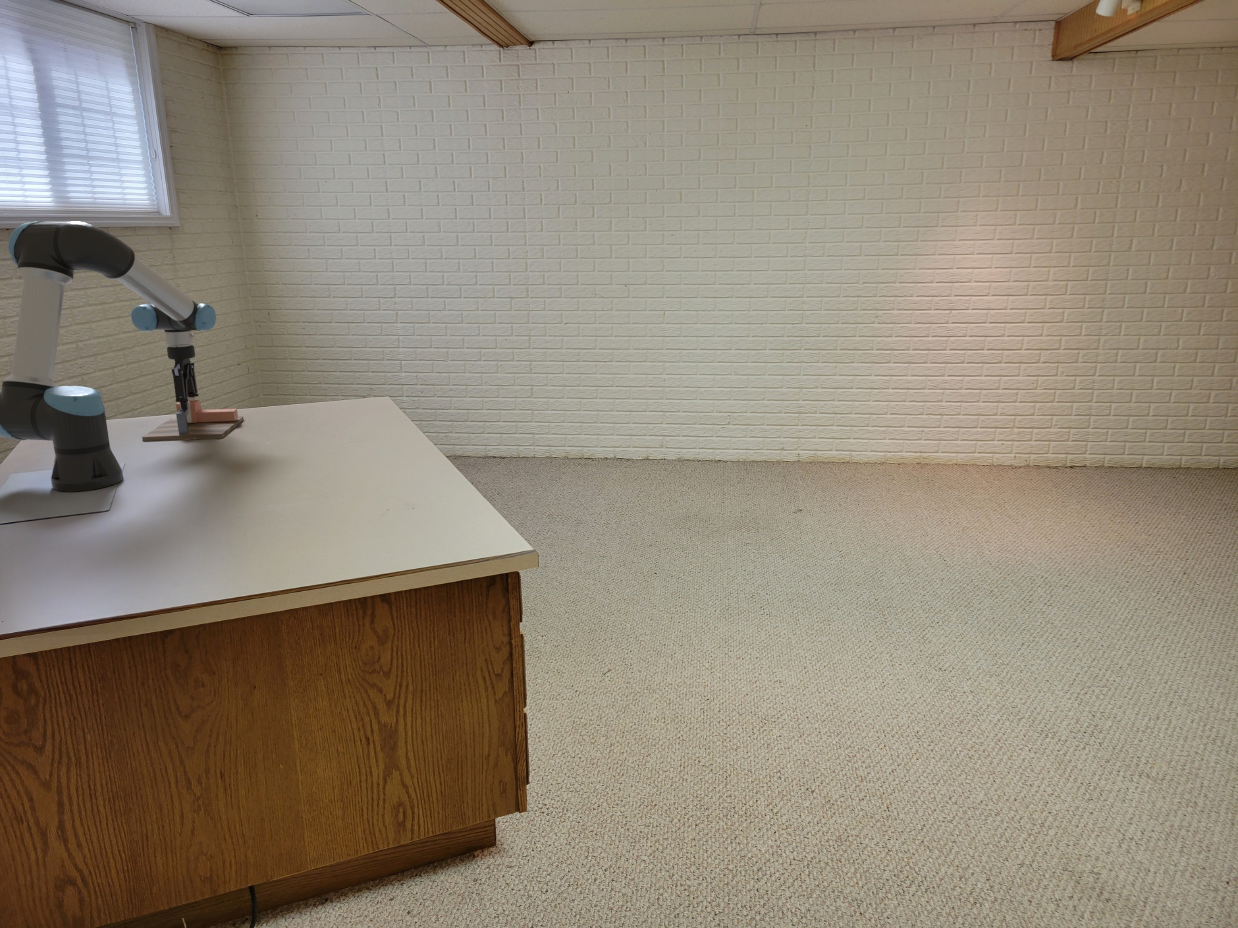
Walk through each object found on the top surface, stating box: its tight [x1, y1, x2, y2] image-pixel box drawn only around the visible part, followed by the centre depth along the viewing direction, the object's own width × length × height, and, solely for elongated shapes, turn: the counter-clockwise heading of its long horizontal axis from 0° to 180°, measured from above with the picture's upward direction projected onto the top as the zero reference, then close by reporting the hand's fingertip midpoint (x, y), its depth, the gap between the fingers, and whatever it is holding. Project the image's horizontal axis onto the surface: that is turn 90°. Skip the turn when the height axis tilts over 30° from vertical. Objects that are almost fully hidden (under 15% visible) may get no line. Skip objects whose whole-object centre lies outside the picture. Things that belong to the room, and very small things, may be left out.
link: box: [175, 399, 239, 423], centre depth 276 cm, size 16×5×6 cm, turn 98°
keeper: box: [175, 409, 189, 434], centre depth 263 cm, size 6×2×7 cm, turn 18°
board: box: [141, 416, 245, 442], centre depth 271 cm, size 24×22×1 cm
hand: (190, 419), depth 276 cm, fingers closed on link, 5 cm apart
